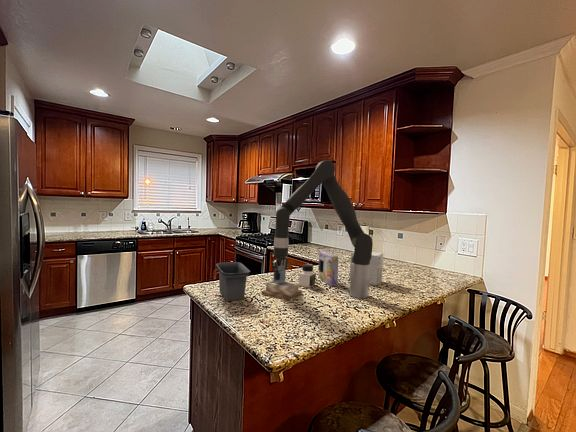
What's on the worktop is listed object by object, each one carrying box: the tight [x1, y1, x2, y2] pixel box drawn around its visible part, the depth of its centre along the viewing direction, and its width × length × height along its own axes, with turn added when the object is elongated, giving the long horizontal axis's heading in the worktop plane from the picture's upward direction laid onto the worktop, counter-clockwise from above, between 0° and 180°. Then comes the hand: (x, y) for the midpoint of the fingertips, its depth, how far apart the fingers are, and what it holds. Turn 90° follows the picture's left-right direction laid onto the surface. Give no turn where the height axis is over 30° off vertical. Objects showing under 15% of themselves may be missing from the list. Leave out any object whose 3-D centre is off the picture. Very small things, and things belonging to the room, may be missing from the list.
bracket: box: [272, 268, 292, 287], centre depth 152 cm, size 9×4×10 cm, turn 62°
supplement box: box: [349, 251, 384, 286], centre depth 185 cm, size 17×13×18 cm
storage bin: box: [213, 261, 251, 302], centre depth 145 cm, size 21×16×14 cm
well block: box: [261, 279, 303, 302], centre depth 152 cm, size 16×14×6 cm
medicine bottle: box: [298, 263, 317, 289], centre depth 170 cm, size 7×7×12 cm
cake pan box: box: [317, 250, 339, 287], centre depth 179 cm, size 19×5×18 cm, turn 17°
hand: (279, 278), depth 153 cm, fingers closed on bracket, 3 cm apart
